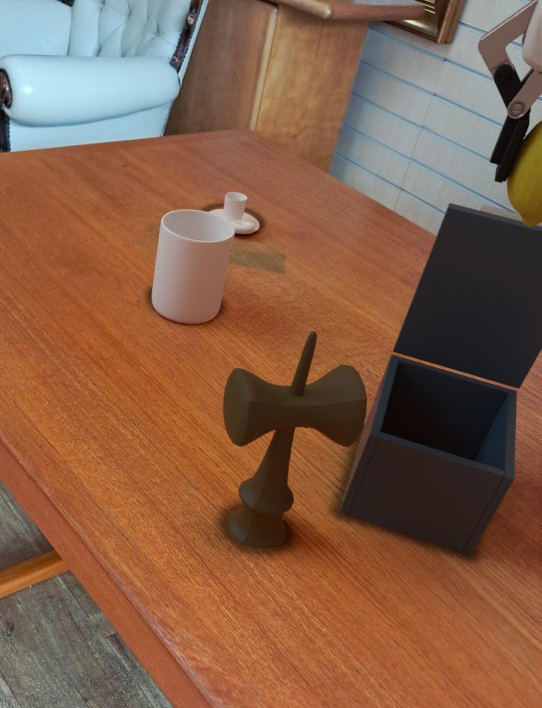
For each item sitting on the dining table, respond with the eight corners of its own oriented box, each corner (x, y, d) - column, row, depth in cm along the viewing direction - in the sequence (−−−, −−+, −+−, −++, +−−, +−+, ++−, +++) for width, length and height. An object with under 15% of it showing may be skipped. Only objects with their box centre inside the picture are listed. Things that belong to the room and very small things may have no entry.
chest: (466, 563, 68) (514, 479, 62) (336, 520, 70) (369, 433, 63) (474, 472, 78) (517, 390, 71) (360, 436, 80) (391, 353, 73)
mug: (161, 272, 100) (171, 191, 93) (225, 284, 100) (240, 204, 93) (145, 318, 91) (155, 233, 84) (215, 331, 91) (231, 247, 84)
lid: (600, 246, 60) (601, 212, 63) (448, 207, 62) (456, 176, 65) (519, 389, 71) (523, 354, 74) (392, 352, 73) (402, 319, 76)
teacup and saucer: (256, 243, 110) (262, 215, 108) (200, 232, 111) (205, 204, 108) (260, 218, 117) (266, 191, 114) (208, 208, 117) (212, 181, 114)
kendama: (318, 558, 66) (395, 355, 53) (208, 564, 64) (259, 355, 51) (296, 508, 71) (362, 309, 57) (192, 513, 68) (235, 307, 55)
